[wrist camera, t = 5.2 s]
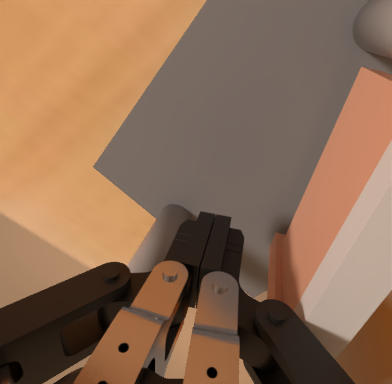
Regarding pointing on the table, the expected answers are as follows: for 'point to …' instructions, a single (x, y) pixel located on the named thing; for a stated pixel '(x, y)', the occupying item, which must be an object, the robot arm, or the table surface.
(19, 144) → the table surface
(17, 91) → the table surface
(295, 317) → the robot arm
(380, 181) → the gate
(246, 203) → the gate frame
